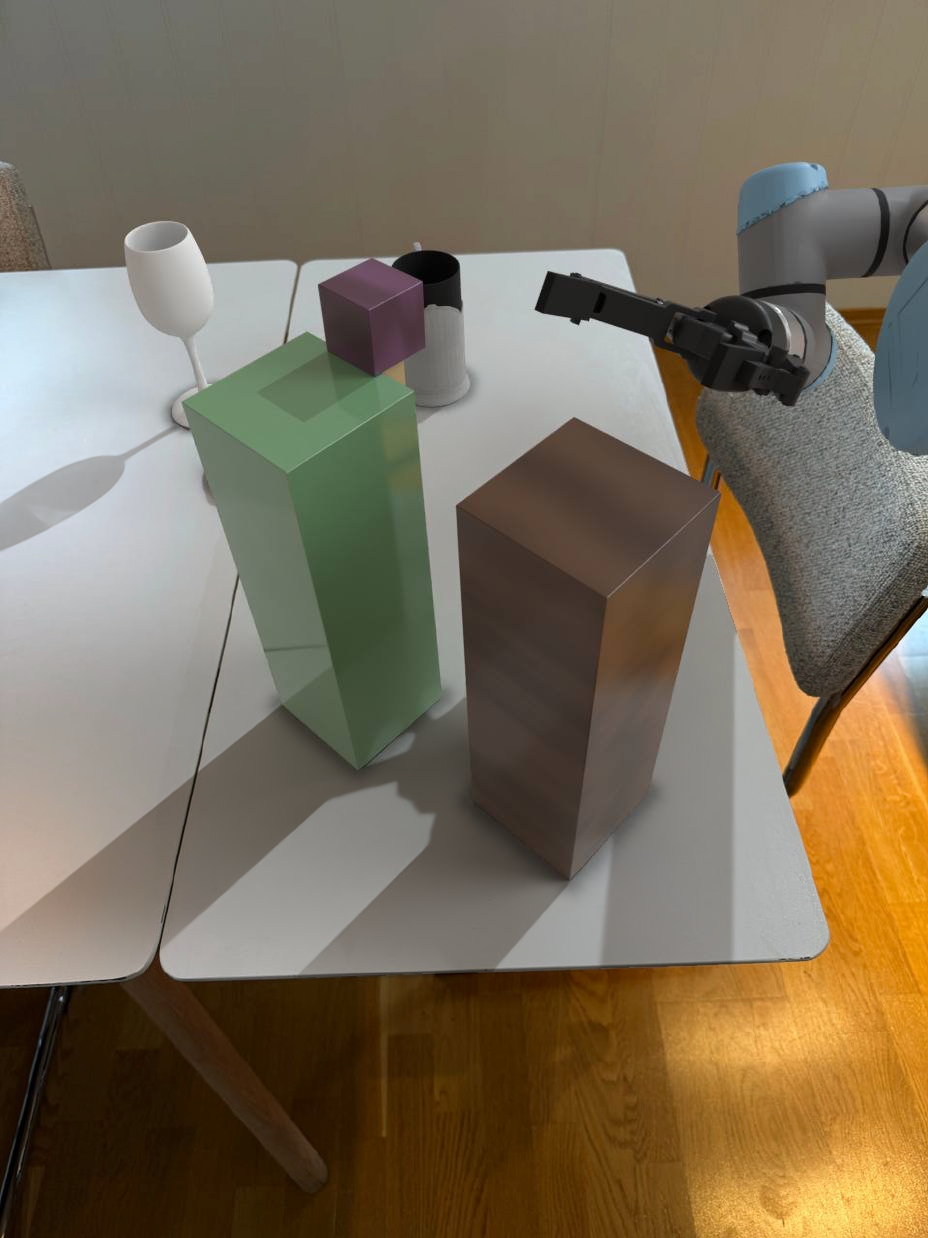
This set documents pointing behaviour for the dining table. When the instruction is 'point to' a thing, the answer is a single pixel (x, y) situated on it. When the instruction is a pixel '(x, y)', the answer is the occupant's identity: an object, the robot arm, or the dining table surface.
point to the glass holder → (437, 329)
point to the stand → (575, 632)
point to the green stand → (327, 537)
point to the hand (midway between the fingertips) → (624, 326)
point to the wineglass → (171, 289)
